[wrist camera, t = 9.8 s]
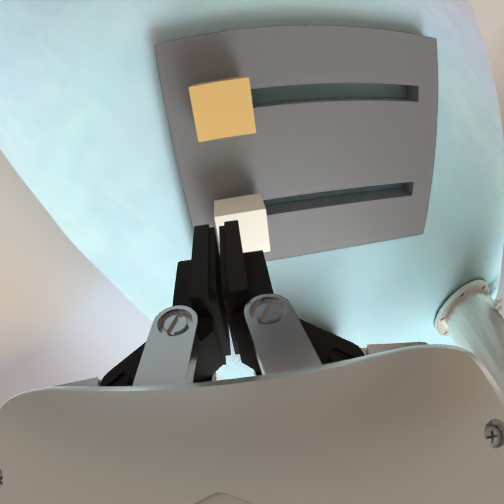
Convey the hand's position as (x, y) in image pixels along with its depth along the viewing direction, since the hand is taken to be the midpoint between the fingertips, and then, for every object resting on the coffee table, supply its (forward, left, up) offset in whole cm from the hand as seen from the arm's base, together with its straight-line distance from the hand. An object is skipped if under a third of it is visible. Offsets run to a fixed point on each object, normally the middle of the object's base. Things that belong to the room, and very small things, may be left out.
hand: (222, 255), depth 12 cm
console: (-9, +1, -17) cm, 19 cm away
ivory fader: (-1, +6, -17) cm, 18 cm away
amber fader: (-1, -4, -17) cm, 18 cm away
